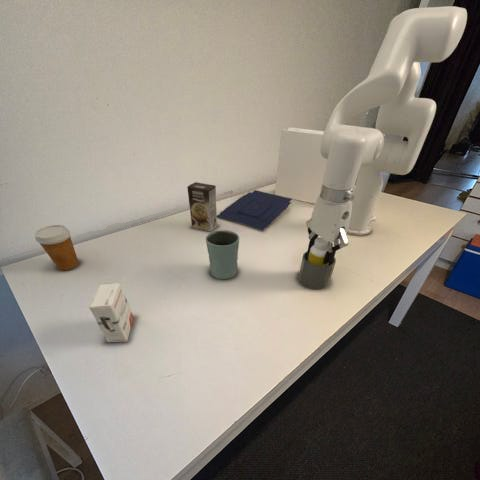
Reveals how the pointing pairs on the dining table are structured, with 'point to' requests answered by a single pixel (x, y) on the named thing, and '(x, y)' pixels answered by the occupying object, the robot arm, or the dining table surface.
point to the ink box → (112, 312)
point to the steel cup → (315, 273)
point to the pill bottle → (318, 252)
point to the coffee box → (202, 206)
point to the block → (300, 165)
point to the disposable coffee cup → (58, 246)
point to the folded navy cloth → (256, 209)
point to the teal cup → (223, 253)
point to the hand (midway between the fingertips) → (319, 256)
